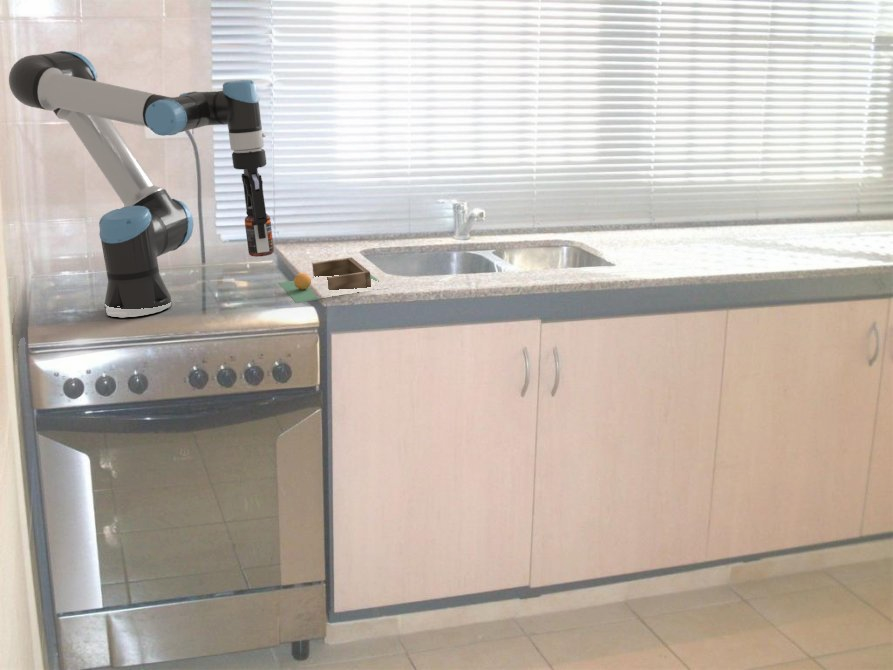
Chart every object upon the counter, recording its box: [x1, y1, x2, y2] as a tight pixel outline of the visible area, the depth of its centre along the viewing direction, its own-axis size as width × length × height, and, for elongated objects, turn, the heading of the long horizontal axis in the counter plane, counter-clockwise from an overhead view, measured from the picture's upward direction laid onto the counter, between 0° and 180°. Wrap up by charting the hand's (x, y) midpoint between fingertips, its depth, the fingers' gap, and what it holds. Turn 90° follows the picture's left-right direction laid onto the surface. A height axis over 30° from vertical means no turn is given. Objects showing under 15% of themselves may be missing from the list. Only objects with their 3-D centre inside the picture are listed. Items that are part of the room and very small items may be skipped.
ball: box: [293, 272, 311, 290], centre depth 266 cm, size 4×4×4 cm
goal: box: [311, 256, 371, 290], centre depth 269 cm, size 10×18×4 cm, turn 19°
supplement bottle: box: [244, 206, 275, 258], centre depth 259 cm, size 6×6×11 cm
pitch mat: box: [279, 273, 380, 304], centre depth 268 cm, size 22×21×1 cm
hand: (260, 248), depth 261 cm, fingers closed on supplement bottle, 6 cm apart
